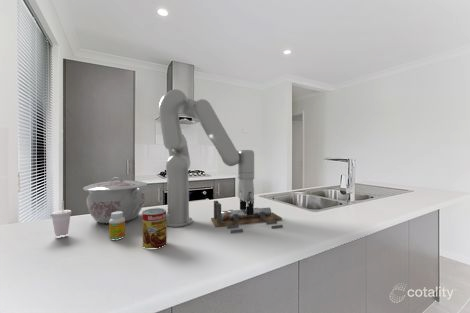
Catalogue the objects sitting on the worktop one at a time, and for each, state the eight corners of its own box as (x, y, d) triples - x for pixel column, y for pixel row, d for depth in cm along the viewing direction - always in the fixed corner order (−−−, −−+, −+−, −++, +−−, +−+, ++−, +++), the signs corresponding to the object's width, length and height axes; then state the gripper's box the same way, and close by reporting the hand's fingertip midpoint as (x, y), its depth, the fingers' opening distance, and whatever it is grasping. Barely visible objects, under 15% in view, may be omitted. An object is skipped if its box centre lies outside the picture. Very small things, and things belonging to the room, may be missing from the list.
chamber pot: (88, 216, 115) (87, 175, 115) (146, 209, 127) (145, 173, 126) (76, 234, 90) (75, 182, 89) (150, 224, 101) (149, 178, 101)
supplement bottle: (109, 242, 82) (108, 215, 81) (109, 237, 86) (109, 211, 86) (125, 239, 84) (125, 213, 84) (125, 234, 89) (124, 210, 89)
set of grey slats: (231, 233, 90) (231, 230, 90) (227, 228, 95) (227, 226, 95) (282, 227, 96) (282, 225, 96) (276, 223, 102) (276, 221, 102)
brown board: (215, 227, 97) (215, 205, 97) (211, 220, 107) (211, 200, 106) (282, 220, 106) (282, 200, 106) (272, 214, 116) (272, 196, 116)
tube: (222, 220, 101) (222, 211, 101) (220, 219, 105) (220, 210, 105) (271, 216, 108) (271, 207, 108) (268, 215, 111) (267, 207, 112)
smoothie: (75, 234, 89) (75, 199, 89) (58, 240, 83) (57, 203, 83) (64, 232, 91) (63, 198, 91) (47, 238, 85) (46, 201, 85)
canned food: (152, 251, 73) (152, 215, 73) (137, 246, 78) (137, 212, 77) (171, 243, 80) (170, 210, 80) (156, 239, 84) (156, 207, 84)
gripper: (233, 174, 113) (233, 208, 114) (244, 178, 97) (244, 218, 97) (247, 174, 115) (247, 207, 116) (260, 177, 99) (261, 216, 99)
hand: (246, 212), depth 106 cm, fingers open, 9 cm apart
